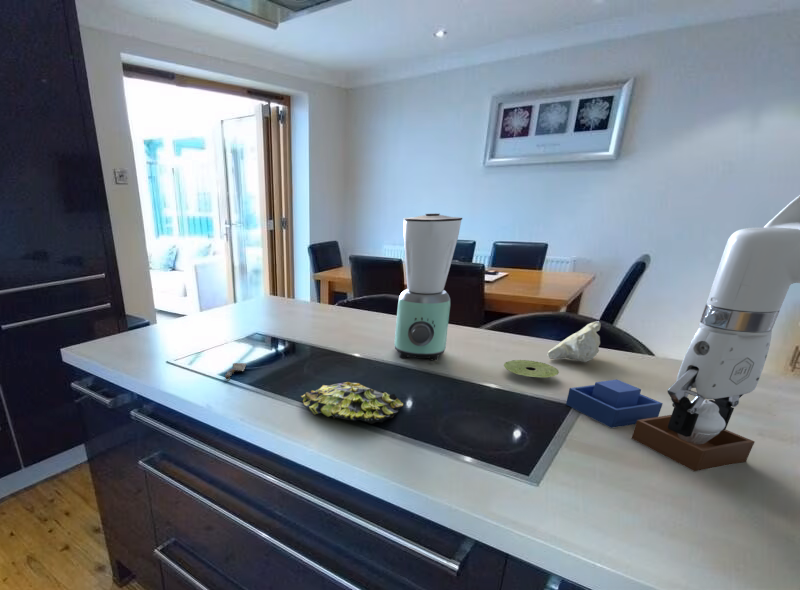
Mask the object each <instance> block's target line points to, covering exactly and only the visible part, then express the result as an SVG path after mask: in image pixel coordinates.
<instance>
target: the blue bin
mask: <svg viewBox="0 0 800 590" xmlns="http://www.w3.org/2000/svg"><path fill="white" fill-rule="evenodd" d="M594 386H595V384H591V385H584V386H583V385H582V386H575V387H570V388H568V389H569V390H568V394H567V398H566V402H565V405H566V406H567V407H570V408H572V409H574V410H575V411H577V412H579V413H581V414H583V415H585V416H587V417H588V418H590V419H592V420H595V421H597V422H598V423H600V424H602V425H604V426H606V427H608V428H610V429H615V428H621V427H627V426H633V425H636V422H637V420H641V419H647V418H654V417H660V416H659V415H660V413H661V410H662V407H663V402H660V401H658V400H656V399H653V398H651V397H649V396H645V395H643V394H642V393H640V395H639V398H638V402H637V405H636V406H630V407H623V408H617V409H616V408H614V407H612V406H610V405H608V404H606V403H603V402H601V401H599V400H597V399H595V398H593V397H592V393H593V389H594Z"/></svg>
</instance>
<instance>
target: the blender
mask: <svg viewBox="0 0 800 590" xmlns="http://www.w3.org/2000/svg"><path fill="white" fill-rule="evenodd" d="M402 219H403V246H404V263H405V264H404V265H405V277H406V289H404V290H403V291H402V292H401V293H400V295H399V297H398V302H397V309H396V321H395V333H394V343H393V345H394V349H395V350H396V352H398V354H399V358H401V359H407V358H408V357H411V358H419V359H428V358H429V360H430V361H433V362H434V361H438V359H439V357H440V356H441V355H442V354H444V353H445V350H446V346H447V340H448V339H447V338H448V329H449V322H450V314H451V313H450V312H451V297H450V295H449V293H448V292H447V291H446V290H445V286H446V283H447V279H448V275H449V272H450V268H451V264H452V261H453V257H454V254H455V250H456V246H457V243H458V240H459V235H460V230H461V224H462V220H463V217H460V216H449V215H443V214H440V213H437V212H435V213H425V214H424V215H423V214H422V215H418V216H412V217H403V218H402Z"/></svg>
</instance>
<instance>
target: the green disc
mask: <svg viewBox="0 0 800 590" xmlns="http://www.w3.org/2000/svg"><path fill="white" fill-rule="evenodd" d="M503 367H504V368H505V370H507V371H509V372H511V373H513V374H516V375H519V376H524V377H528V378H530V377H531V378H553V377H556V376H557V375H559V373H560V371H559V369H558V368H556V367H555V366H552V365H550V364H548V363H546V362H541V361H535V360H528V359H527V360H526V359H514V360H508V361H505V362H504V364H503Z"/></svg>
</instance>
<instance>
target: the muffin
mask: <svg viewBox="0 0 800 590" xmlns="http://www.w3.org/2000/svg"><path fill="white" fill-rule="evenodd" d="M690 402H691V403H692V402H693V400H690ZM696 413H697V414H699V416H698V418H697V421H696V424H695V426H694V429H693V432H692V434H691V436H688V437H685V436H683V435H681V434H679V433H678V436H679V438H681V439H682V440H684V441H686V442H689V443H693V444H704V443H706V442H707V441H709V440H710V439H712V438H713V437H715V436H716V435H718V434H719V432H720V431H722V430H723V429H724V428H725V426H726V423H725V420H724V419H723V418H722V417H721V416H720V414H719V407H718V406H717V405H716V404H715V403H713V402H711V401H709V400H708V399H705V400H704V401H703V403H702V404H701V405H700V407H699V408H698V410H697V411H696Z"/></svg>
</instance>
